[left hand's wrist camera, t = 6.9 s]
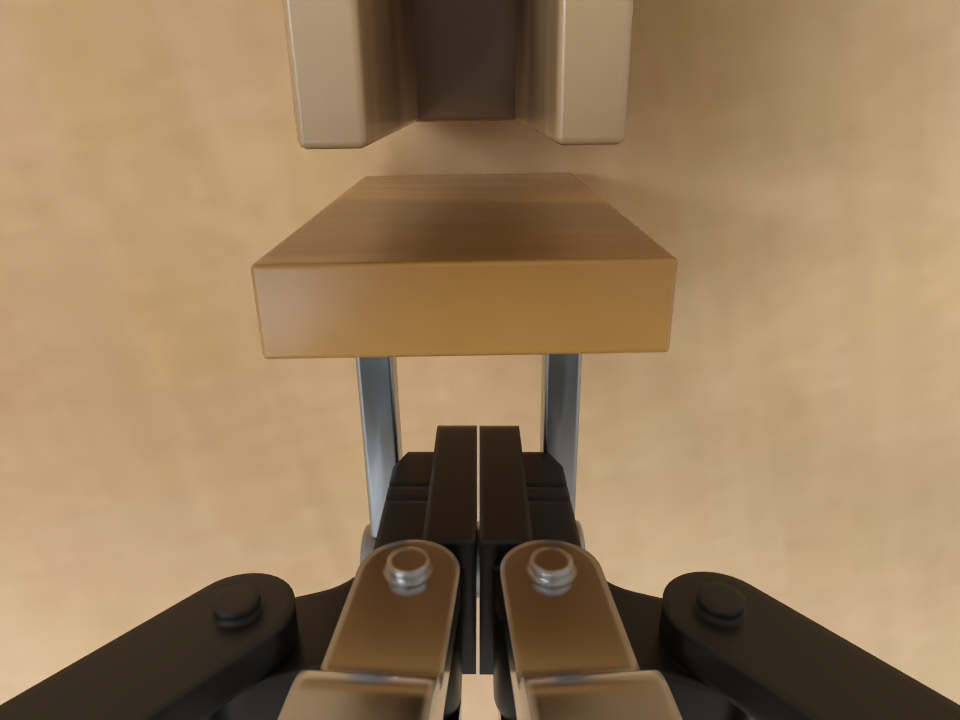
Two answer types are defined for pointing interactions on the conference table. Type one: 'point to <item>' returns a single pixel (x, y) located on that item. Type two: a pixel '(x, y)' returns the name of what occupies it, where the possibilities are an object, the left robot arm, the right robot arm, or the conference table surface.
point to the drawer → (462, 209)
